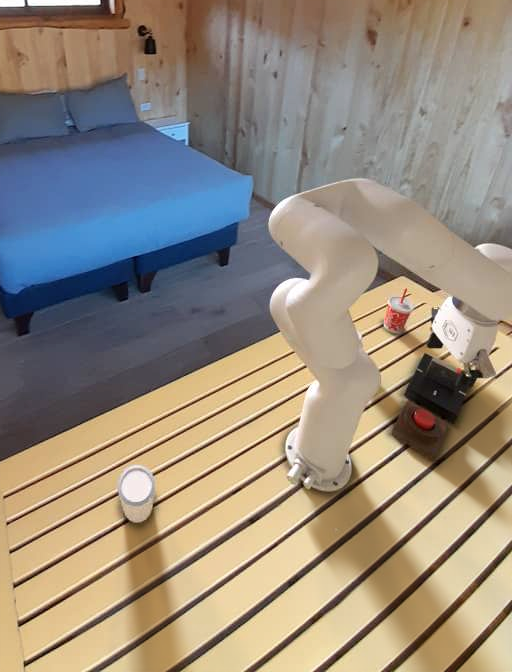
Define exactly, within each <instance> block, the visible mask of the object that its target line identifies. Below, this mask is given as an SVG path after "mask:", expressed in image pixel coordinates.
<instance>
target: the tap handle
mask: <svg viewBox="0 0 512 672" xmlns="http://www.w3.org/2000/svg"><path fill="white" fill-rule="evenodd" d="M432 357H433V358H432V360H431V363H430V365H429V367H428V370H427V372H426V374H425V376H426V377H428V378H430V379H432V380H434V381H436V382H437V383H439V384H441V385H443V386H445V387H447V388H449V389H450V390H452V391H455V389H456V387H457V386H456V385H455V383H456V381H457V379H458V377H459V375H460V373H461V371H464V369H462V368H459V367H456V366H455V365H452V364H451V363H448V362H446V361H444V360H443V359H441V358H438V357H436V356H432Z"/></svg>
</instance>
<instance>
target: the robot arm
mask: <svg viewBox="0 0 512 672" xmlns="http://www.w3.org/2000/svg"><path fill="white" fill-rule="evenodd" d="M268 231H269V234H270V236H271V238H272V239H273V241H274V242H275V243H276V245H278V246H279V247H280V248H281V249H282V250H283V251H284V252H286V253H287V254H288V255H289V256H290V257H291V258H292V259H294V261H295V262H296V263H298V264H299V265H300V266H301V267H302V268H304V269H305V271H307V273H309V274H310V276H309V279H307V278H303V277H294V278H293V277H292V278H290V279H287V280H285V281H283V282H281V283H280V284H279V285H278V286H276V288H275V290H273V293H272V295H271V297H270V300H269V312H270V315H271V317H272V319H273V321H274V323H275V325H276V327H277V328H278V330H279V332H280V333H281V335H282V337H283V338H284V340H285V341H286V343H287V344H288V346H289V347H290V349H292V351H293V352H294V354H295V355H296V356H297V357H298V359H300V360H301V362H302V363H303V364H304V365H305V367H306V368H307V369H308V370H309V372H310V373H311V374H312V376H313V377H314V378H315V379H316V381H314V382H313V383H311V385H310V386H309V387H308V389H307V390H306V393H305V397H304V402H303V406H302V410H301V414H300V418H299V421H298V422H299V423H298V425H297V427H295V428H294V429H293V430H291V431H290V433H288V435H287V438H286V441H285V450H284V451H285V456H286V460H287V462H288V464H289V467H290V468H291V469H290V470H289V472H288V473H287V475H286V479H287V481H288V482H289V483H290V484H292V485H294V486H295V485H297V484H298V482H299V480H301V481H302V484H303V486H304V487H305V488H306V489H308V490H310V489H311V488H313V489H315V490H318V491H322V492H336V491H339V490H341V489H343V488H344V487H345V486H346V485H347V484H348V482H349V480H350V478H351V475H352V468H353V467H352V466H353V465H352V461H351V457H350V454H349V453H350V449H351V447H352V443H353V440H354V437H355V435H356V433H357V429H358V426H359V423H360V421H361V418H362V416H363V413H364V412H365V409H366V407H367V406H368V404H369V403H370V401H371V400H372V399H373V397H374V396H375V395H376V394H377V392H378V390H379V388H380V386H381V383H382V374H381V371H380V368H379V367H378V365H377V364H376V362H375V361H374V360H373V358H372V357H371V356H370V355H369V354H368V353H367V352H366V351H365V350H364V349H363V348H361V347H360V346H359V337H358V333H357V331H358V330H357V327H356V325H355V323H354V321H353V317H352V315H351V313H350V309H351V307H352V306H354V304H355V303H356V302H357V301H358V300H359V299H360V298H361V297H362V295H363V294H364V293H365V292H366V291H367V289H368V288H369V287H370V286H371V284H372V283H373V282H374V280H375V278H376V276H377V273H378V269H379V257H378V254H377V252H376V250H378V251H379V252H381V253H382V254H384V255H385V256H387V257H388V258H390V259H391V260H392V261H395V262H396V263H398V264H399V265H401V266H403V267H404V268H405V269H407V270H408V271H410V272H412V273H413V274H414V275H416V276H418V277H420V278H421V279H422V280H424V281H425V282H427V283H429V284H431V286H434V287H436V288H437V289H439V290H442V291H443V292H445V293H446V294H449V296H448V297H447V298H446V299H445V301H443V303H442V305H441V306H440V307H437V306H435V307H434V306H433V307H431V308H430V309H431V313H430V315H431V316H430V323H431V326H430V328H429V330H430V332H431V333H430V335H429V337H428V340H427V341H426V344H425V347H426V348H427V349H429V350H430V349H438V350H439V349H442V348H443V346H444V347H445V348H446V349H447V351H448V352H449V353H450V355H452V356H453V358H454V359H455V360H456V361H458V362H459V364H462V365H463V371H461V373H460V375H459V377H458V379H457V381H456V383H455V385H456V386H457V387H466V388H468V389H471V388H473V387H474V386H475V383H476V381H477V380H478V379H490V378H493V377H495V376H497V372H496V370H495V368H494V366H493V363H492V361H491V359H490V357H489V356H490V354H491V353H492V350H493V347H494V344H495V343H496V339H497V336H498V335H497V334H498V330H499V321H505V320H508V319H511V318H512V248H510V247H508V246H505V245H501V244H498V243H497V244H496V243H482V244H481V243H480V244H479V245H477V246H476V247H474V246H473V245H471V244H470V243H468V242H467V241H466V240H464V239H463V238H461V237H460V236H458V235H456V234H455V233H454V232H453V231H452V230H450V229H449V228H447V226H445V225H444V224H443V223H442V222H441V221H440V220H438V219H437V217H435V216H434V215H432V214H431V212H429V211H428V210H427V209H426V208H424V207H423V206H422V205H420V204H419V203H417V202H416V201H414V200H412V199H411V198H408V197H407V196H405V195H402V194H400V193H399V192H396V191H395V190H392V189H390V188H388V187H386V186H384V185H382V184H381V183H378V182H376V181H374V180H372V179H369V178H363V177H362V178H361V177H360V178H351V179H346V180H345V179H344V180H340V181H337V182H333V183H329V184H326V185H323V186H319V187H316V188H313V189H309V190H306V191H303V192H299V193H296V194H294V195H290V196H289V197H287V198H285V199H283V200H282V201H281V202H280V203H278V204H277V205H276V206H275V208H273V210H272V211H271V213H270V216H269V219H268ZM471 364H474V369H472V367H471Z"/></svg>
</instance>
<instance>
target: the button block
mask: <svg viewBox="0 0 512 672" xmlns="http://www.w3.org/2000/svg"><path fill="white" fill-rule="evenodd" d="M418 409H424V410H426V411H428V412H429V413H431V414H432V415H433V417H434V418H435V424H434V426H433V428H432V429H431V430H424V429H422V428H420V427H419V426H418V425H416V423H415V422H414V420H413V416H414V414H415V412H416V410H418ZM448 425H449V421H447V420H445V419H444V418H442V417H440V416H438V415H437V414H435V413H433V412H432V411H430V410H428V409H426V408H425V407H423V406H421V405H420V404H418V403H416V402H414V401H413V400H411V399H409V398H407V400H406V402H405V403H404V406H403V408H402V409H401V412H400V414H399V416H398V418H397V420H396V421H395V425H394V426H393V428H392V430H391V432H390V433H391V435H392V436H393V437H395V438H396V439H398V440H400V441H401V442H402V443H404V444H406V445H407V446H409V447H410V448H412V449H413V450H415V451H416V452H418V453H420V454H421V455H423V456H424V457H426V458H427V459H429V460H430V461H432V462H435V459H436V458H437V455H438V453H439V450H440V447H441V445H442V441H443V439H444V437H445V434H446V431H447V428H448Z"/></svg>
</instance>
